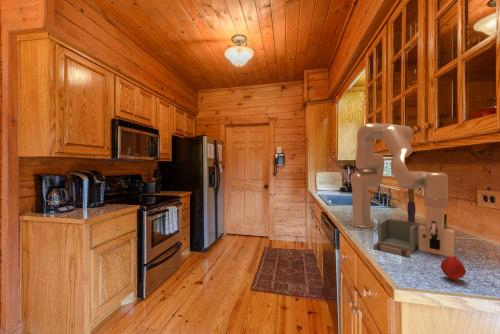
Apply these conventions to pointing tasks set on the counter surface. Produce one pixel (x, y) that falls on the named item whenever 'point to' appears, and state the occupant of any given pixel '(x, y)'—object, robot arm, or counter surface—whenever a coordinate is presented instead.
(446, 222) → the fennel bulb
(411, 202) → the rubber mallet
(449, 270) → the onion
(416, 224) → the cabinet
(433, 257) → the counter surface
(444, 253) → the door
